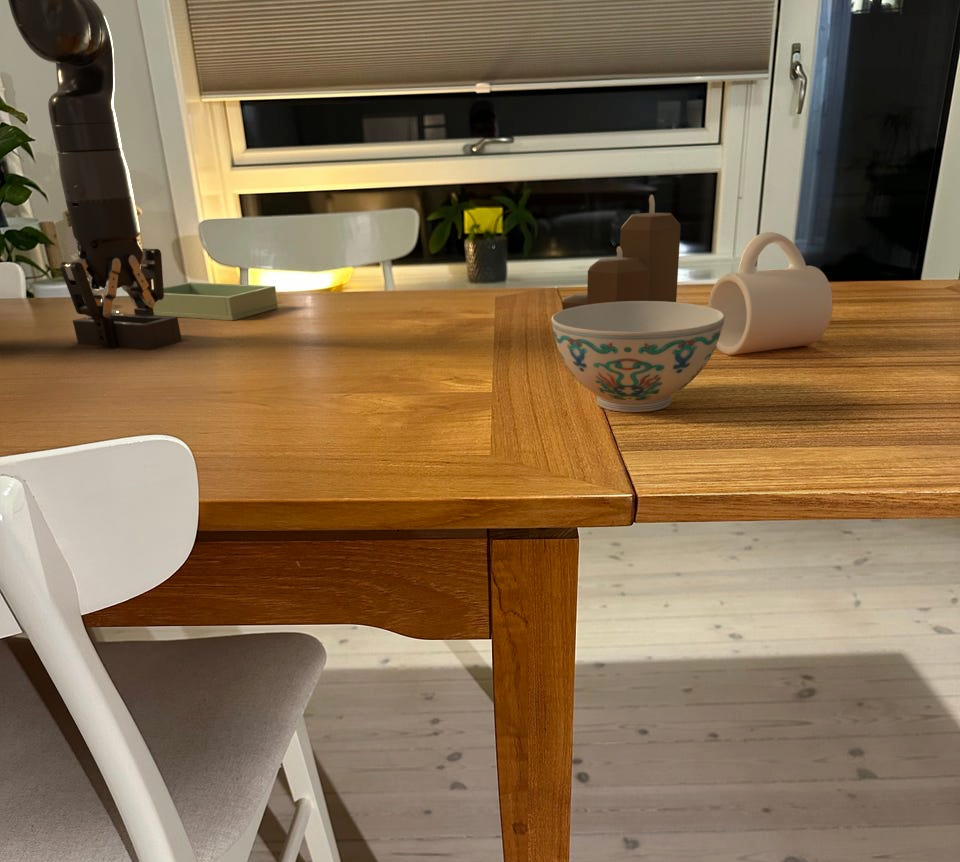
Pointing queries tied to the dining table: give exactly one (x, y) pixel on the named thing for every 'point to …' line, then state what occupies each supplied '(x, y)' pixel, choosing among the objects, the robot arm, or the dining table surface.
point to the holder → (215, 301)
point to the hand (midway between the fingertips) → (130, 343)
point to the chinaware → (636, 349)
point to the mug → (771, 302)
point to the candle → (636, 263)
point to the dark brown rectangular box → (133, 331)
